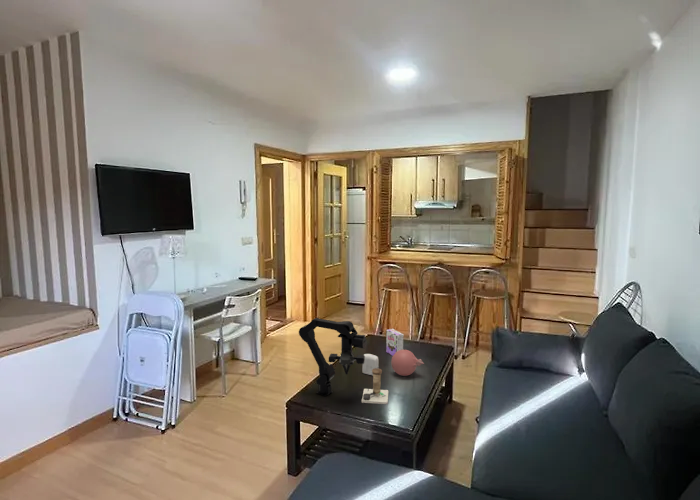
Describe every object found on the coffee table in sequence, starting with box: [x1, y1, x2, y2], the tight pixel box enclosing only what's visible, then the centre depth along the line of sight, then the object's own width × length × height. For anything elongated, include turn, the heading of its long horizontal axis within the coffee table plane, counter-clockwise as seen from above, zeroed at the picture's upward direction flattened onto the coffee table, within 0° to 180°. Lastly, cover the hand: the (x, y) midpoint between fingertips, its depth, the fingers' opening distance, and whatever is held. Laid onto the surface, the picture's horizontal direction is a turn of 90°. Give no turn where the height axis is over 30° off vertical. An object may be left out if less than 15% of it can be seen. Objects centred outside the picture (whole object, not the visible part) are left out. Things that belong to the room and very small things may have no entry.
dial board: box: [361, 388, 389, 405], centre depth 213 cm, size 14×14×1 cm
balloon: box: [390, 349, 425, 377], centre depth 240 cm, size 15×20×15 cm
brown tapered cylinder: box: [362, 367, 383, 400], centre depth 211 cm, size 11×5×14 cm, turn 129°
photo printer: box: [361, 353, 380, 377], centre depth 242 cm, size 10×4×12 cm, turn 60°
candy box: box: [385, 328, 405, 357], centre depth 274 cm, size 14×6×16 cm, turn 25°
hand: (346, 374), depth 211 cm, fingers closed
